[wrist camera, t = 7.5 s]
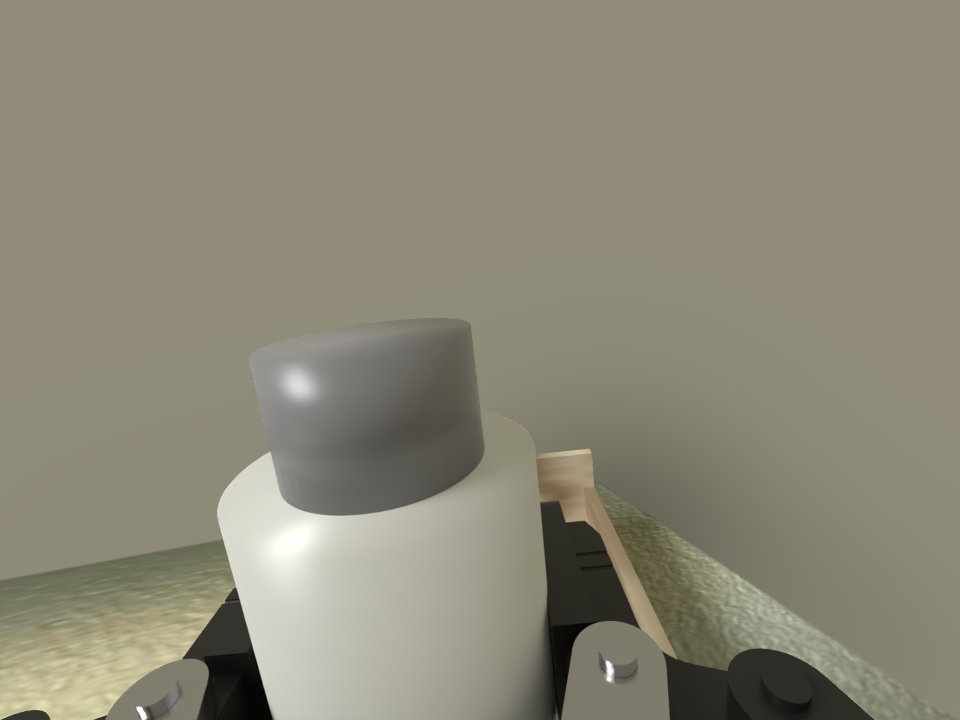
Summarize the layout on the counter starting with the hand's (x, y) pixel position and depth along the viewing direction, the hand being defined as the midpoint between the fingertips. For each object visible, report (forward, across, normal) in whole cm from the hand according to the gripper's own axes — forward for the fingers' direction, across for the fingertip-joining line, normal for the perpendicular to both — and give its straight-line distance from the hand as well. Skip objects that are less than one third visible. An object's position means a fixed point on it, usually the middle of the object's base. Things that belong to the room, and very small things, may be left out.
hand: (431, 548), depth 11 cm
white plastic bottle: (-3, 0, +8) cm, 9 cm away
